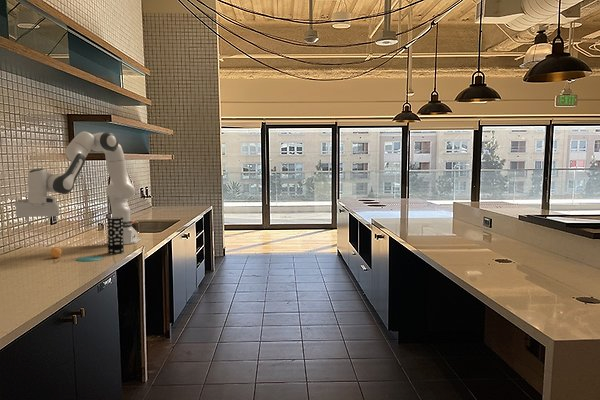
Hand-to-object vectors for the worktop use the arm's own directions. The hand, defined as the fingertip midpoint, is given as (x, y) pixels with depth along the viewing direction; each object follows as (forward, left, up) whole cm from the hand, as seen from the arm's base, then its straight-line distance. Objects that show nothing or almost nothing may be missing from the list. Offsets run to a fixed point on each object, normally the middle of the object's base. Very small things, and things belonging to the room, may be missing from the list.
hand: (38, 225), depth 237 cm
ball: (0, +10, -15) cm, 17 cm away
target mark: (0, +29, -17) cm, 33 cm away
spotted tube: (-18, +34, -18) cm, 42 cm away
